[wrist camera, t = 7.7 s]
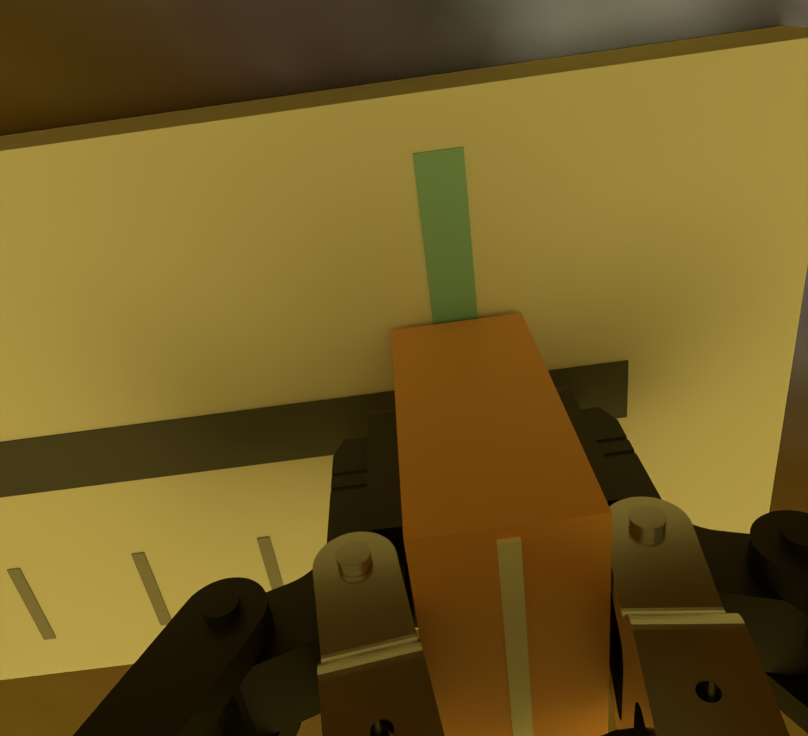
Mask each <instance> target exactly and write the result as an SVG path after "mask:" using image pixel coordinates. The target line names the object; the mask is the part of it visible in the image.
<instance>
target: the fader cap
mask: <svg viewBox="0 0 808 736" xmlns="http://www.w3.org/2000/svg"><path fill="white" fill-rule="evenodd" d="M391 338H392V355H393V372H394V389H395V406H396V423H397V440H398V456H399V473H400V490H401V507H402V524H403V540H404V546H405V552H406V558H407V564H408V570H409V576H410V582H411V588H412V594H413V600H414V606H415V612H416V618H417V624H418V630H419V636H420V641H421V644H422V648H423V652H424V656H425V660H426V663H427V667H428V671H429V675H430V679H431V683H432V687H433V691H434V695H435V699H436V703H437V707H438V711H439V715H440V719H441V723H442V727H443V731H444V735H445V736H599V735H605V734H607V733H608V702H609V650H610V598H611V545H612V512H611V510H610V507H609V505H608V503H607V501H606V498H605V496H604V494H603V492H602V490H601V487H600V485H599V483H598V481H597V479H596V476H595V474H594V472H593V470H592V467H591V465H590V463H589V461H588V459H587V456H586V454H585V452H584V450H583V447H582V445H581V443H580V441H579V439H578V436H577V434H576V432H575V430H574V428H573V425H572V423H571V421H570V419H569V416H568V414H567V412H566V410H565V408H564V405H563V403H562V401H561V399H560V397H559V394H558V392H557V390H556V388H555V385H554V383H553V381H552V379H551V377H550V374H549V372H548V370H547V368H546V365H545V363H544V361H543V359H542V357H541V354H540V352H539V350H538V348H537V346H536V343H535V341H534V339H533V337H532V334H531V332H530V330H529V328H528V326H527V323H526V321H525V319H524V317H523V314H522V313H516V314H509V315H501V316H494V317H486V318H479V319H471V320H464V321H456V322H448V323H441V324H433V325H426V326H418V327H411V328H403V329H396V330H391Z"/></svg>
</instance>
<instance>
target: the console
mask: <svg viewBox="0 0 808 736" xmlns="http://www.w3.org/2000/svg"><path fill="white" fill-rule="evenodd" d="M807 266H808V28H800V27H792V26H777V27H770V28H763V29H756V30H749V31H742V32H735V33H727V34H720V35H713V36H706V37H699V38H692V39H685V40H678V41H671V42H664V43H656V44H649V45H642V46H635V47H628V48H621V49H614V50H607V51H600V52H593V53H585V54H578V55H571V56H564V57H557V58H550V59H543V60H536V61H529V62H522V63H514V64H507V65H500V66H493V67H486V68H479V69H472V70H465V71H458V72H451V73H443V74H436V75H429V76H422V77H415V78H408V79H401V80H394V81H387V82H379V83H372V84H365V85H358V86H351V87H344V88H337V89H330V90H323V91H316V92H308V93H301V94H294V95H287V96H280V97H273V98H266V99H259V100H252V101H245V102H237V103H230V104H223V105H216V106H209V107H202V108H195V109H188V110H181V111H174V112H166V113H159V114H152V115H145V116H138V117H131V118H124V119H117V120H110V121H102V122H95V123H88V124H81V125H74V126H67V127H60V128H53V129H46V130H39V131H31V132H24V133H17V134H10V135H3V136H0V680H5V679H13V678H21V677H29V676H37V675H45V674H54V673H62V672H70V671H78V670H86V669H95V668H103V667H111V666H119V665H127V664H134V663H135V662H136V661H137V660H138V658H139V657H140V656H141V655H142V654H143V652H144V651H145V650H146V649H147V648H148V647H149V645H150V644H151V643H152V642H153V641H154V639H155V638H156V637H157V636H158V635H159V634H160V632H161V631H162V630H163V629H164V628H165V627H166V625H167V624H168V623H169V622H170V621H171V619H172V618H173V617H174V616H175V615H176V614H177V612H178V611H179V610H180V609H181V608H182V606H183V605H184V604H185V603H186V602H187V601H188V600H189V598H190V597H191V596H192V595H194V594H195V593H196V592H197V591H198V590H200V589H202V588H203V587H205V586H206V585H208V584H211V583H213V582H215V581H218V580H221V579H225V578H232V577H242V578H248V579H251V580H254V581H255V582H257V583H259V584H260V585H261V586H262V587H263V589H264V590H265V592H268V591H270V590H273V589H276V588H278V587H281V586H283V585H286V584H289V583H291V582H293V581H295V580H297V579H299V578H301V577H302V576H304V575H305V574H307V573H308V572H309V571H311V570H312V569H313V562H314V559H315V557H316V555H317V553H318V552H319V551H320V549H321V548H322V547H323V546H324V545H326V544H327V532H328V518H329V505H330V492H331V478H332V465H333V456H334V454H335V453H336V451H337V450H338V448H339V447H340V446H341V444H342V443H343V441H344V440H345V439H352V438H360V437H367V414H368V412H370V411H377V410H385V409H393V408H396V406H395V389H394V372H393V355H392V338H391V330H396V329H403V328H411V327H418V326H426V325H433V324H441V323H448V322H456V321H464V320H471V319H479V318H486V317H494V316H501V315H509V314H516V313H522V314H523V317H524V319H525V321H526V323H527V326H528V328H529V330H530V332H531V334H532V337H533V339H534V341H535V343H536V346H537V348H538V350H539V352H540V354H541V357H542V359H543V361H544V363H545V365H546V368H547V370H548V372H549V374H550V377H551V379H552V381H553V383H554V385H555V388H556V387H564V386H569V387H570V388H571V390H572V392H573V394H574V396H575V398H576V400H577V403H578V405H579V407H580V409H587V408H595V407H600V408H601V409H603V410H604V411H606V412H607V413H608V414H610V415H611V416H613V417H614V418H616V419H617V420H618V421H619V423H620V425H621V427H622V429H623V430H624V432H625V434H626V436H627V440H629V441H630V443H631V445H632V447H633V448H634V452H635V453H636V454H637V456H638V457H639V459H640V461H641V463H642V465H643V466H644V468H645V470H646V472H647V474H648V475H649V477H650V479H651V481H652V483H653V484H654V486H655V488H656V490H657V491H658V493H659V495H660V497H661V499H662V500H665V501H667V502H670V503H672V504H674V505H676V506H677V507H679V508H680V509H681V510H683V511H684V512H685V513H686V514H687V516H688V517H689V518H690V520H691V522H692V524H693V525H696V526H699V527H703V528H707V529H712V530H718V531H728V532H737V533H746V534H750V528H751V526H752V524H753V522H754V521H755V520H756V519H757V518H759V517H760V516H762V515H764V514H766V513H769V509H770V503H771V496H772V490H773V483H774V477H775V471H776V464H777V458H778V451H779V445H780V439H781V432H782V426H783V419H784V413H785V407H786V400H787V394H788V387H789V381H790V375H791V368H792V362H793V355H794V349H795V343H796V336H797V330H798V323H799V317H800V311H801V304H802V298H803V291H804V285H805V279H806V272H807ZM415 629H418V628H415Z"/></svg>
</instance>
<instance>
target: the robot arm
mask: <svg viewBox="0 0 808 736" xmlns="http://www.w3.org/2000/svg"><path fill="white" fill-rule="evenodd" d="M556 390H557V392H558V394H559V397H560V399H561V401H562V403H563V405H564V408H565V410H566V412H567V414H568V416H569V419H570V421H571V423H572V425H573V428H574V430H575V432H576V434H577V436H578V439H579V441H580V443H581V445H582V447H583V450H584V452H585V454H586V456H587V459H588V461H589V463H590V465H591V467H592V470H593V472H594V474H595V476H596V479H597V481H598V483H599V485H600V487H601V490H602V492H603V494H604V496H605V498H606V501H607V503H608V505H609V507H610V510H611V512H612V545H611V598H610V650H609V688H610V694H611V699H612V705H613V711H614V717H615V722H616V728H617V730H615V731H612V732H610V733H607V734H605V735H602V736H790V735H789V733H788V730H787V728H786V725H785V723H784V720H783V718H782V715H781V713H780V710H781V711H782V712H783V713H784V714H786V715H787V716H788V717H789V718H790V719H791V720H793V721H794V722H795V723H796V724H797V725H798V726H800V727H801V728H802V729H803V730H804V731H806V732H807V733H808V513H805V512H799V511H790V510H782V511H774V512H770V513H766V514H764V515H762V516H760V517H759V518H757V519H756V520H755V521H754V522H753V524H752V526H751V528H750V534H746V533H737V532H728V531H718V530H712V529H707V528H703V527H699V526H696V525H693V524H692V522H691V520H690V518H689V517H688V516H687V514H686V513H685V512H684V511H683V510H681V509H680V508H679V507H677V506H676V505H674V504H672V503H670V502H667V501H665V500H662V499H661V497H660V495H659V493H658V491H657V490H656V488H655V486H654V484H653V483H652V481H651V479H650V477H649V475H648V474H647V472H646V470H645V468H644V466H643V465H642V463H641V461H640V459H639V457H638V456H637V454H636V453H635V452H634V448H633V447H632V445H631V443H630V441H629V440H627V436H626V434H625V432H624V430H623V429H622V427H621V425H620V423H619V421H618V420H617V419H616V418H614V417H613V416H611V415H610V414H608V413H607V412H606V411H604V410H603V409H601V408H600V407H595V408H587V409H580V407H579V405H578V403H577V400H576V398H575V396H574V394H573V392H572V390H571V388H570V387H569V386H564V387H556ZM415 628H418V624H417V618H416V612H415V606H414V600H413V594H412V588H411V582H410V576H409V570H408V564H407V558H406V552H405V546H404V540H403V524H402V507H401V490H400V473H399V456H398V440H397V423H396V408H393V409H385V410H377V411H370V412H368V414H367V437H360V438H352V439H345V440H344V441H343V443H342V444H341V446H340V447H339V448H338V450H337V451H336V453H335V454H334V456H333V465H332V478H331V492H330V505H329V518H328V532H327V544H326V545H324V546H323V547H322V548H321V549H320V551H319V552H318V553H317V555H316V557H315V559H314V562H313V569H312V570H311V571H309V572H308V573H307V574H305V575H304V576H302V577H301V578H299V579H297V580H295V581H293V582H291V583H289V584H286V585H283V586H281V587H278V588H276V589H273V590H270V591H268V592H265V590H264V589H263V587H262V586H261V585H260V584H259V583H257V582H255V581H254V580H251V579H248V578H242V577H232V578H225V579H221V580H218V581H215V582H213V583H211V584H208V585H206V586H205V587H203V588H202V589H200V590H198V591H197V592H196V593H195V594H194V595H192V596H191V597H190V598H189V600H188V601H187V602H186V603H185V604H184V605H183V606H182V608H181V609H180V610H179V611H178V612H177V614H176V615H175V616H174V617H173V618H172V619H171V621H170V622H169V623H168V624H167V625H166V627H165V628H164V629H163V630H162V631H161V632H160V634H159V635H158V636H157V637H156V638H155V639H154V641H153V642H152V643H151V644H150V645H149V647H148V648H147V649H146V650H145V651H144V652H143V654H142V655H141V656H140V657H139V658H138V660H137V661H136V662H135V663H134V664H133V665H132V667H131V668H130V669H129V670H128V671H127V673H126V674H125V675H124V676H123V677H122V678H121V680H120V681H119V682H118V683H117V684H116V686H115V687H114V688H113V689H112V690H111V691H110V693H109V694H108V695H107V696H106V697H105V699H104V700H103V701H102V702H101V703H100V704H99V706H98V707H97V708H96V709H95V710H94V712H93V713H92V714H91V715H90V716H89V717H88V719H87V720H86V721H85V722H84V723H83V724H82V726H81V727H80V728H79V729H78V730H77V732H76V733H75V734H74V735H73V736H296V735H297V733H298V730H299V728H300V725H301V722H302V721H304V720H306V719H308V718H311V717H313V716H315V715H317V714H320V713H321V723H322V734H323V736H445V735H444V731H443V727H442V723H441V719H440V715H439V711H438V707H437V703H436V699H435V695H434V691H433V687H432V683H431V679H430V675H429V671H428V667H427V663H426V660H425V656H424V652H423V648H422V644H421V641H420V639H418V637H417V633H416V629H415ZM779 709H780V710H779Z"/></svg>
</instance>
